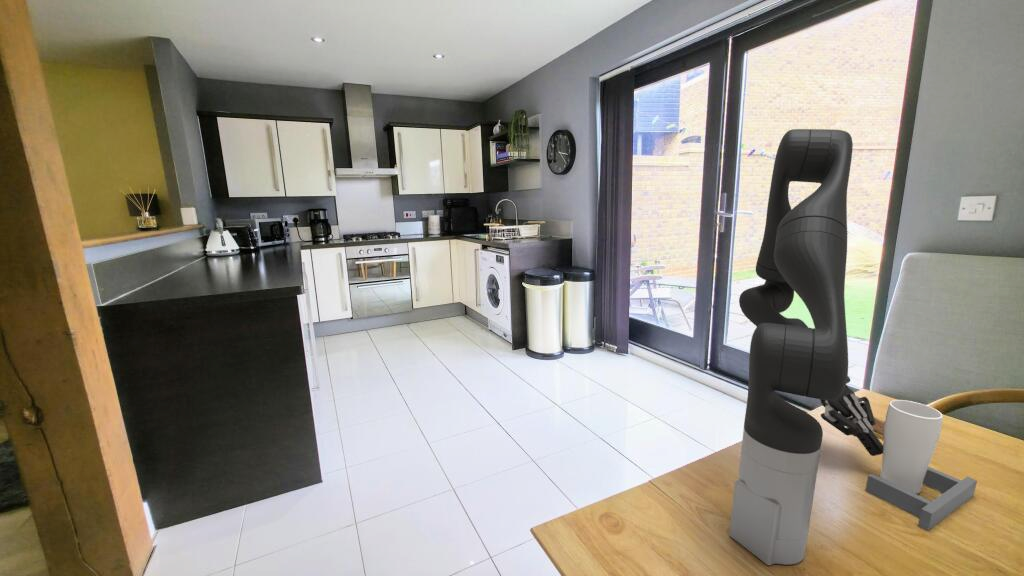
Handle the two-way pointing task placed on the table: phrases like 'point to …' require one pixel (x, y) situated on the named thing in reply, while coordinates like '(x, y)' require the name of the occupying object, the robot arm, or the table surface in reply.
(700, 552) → the table surface
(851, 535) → the table surface
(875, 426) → the shard
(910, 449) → the white cup
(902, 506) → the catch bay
